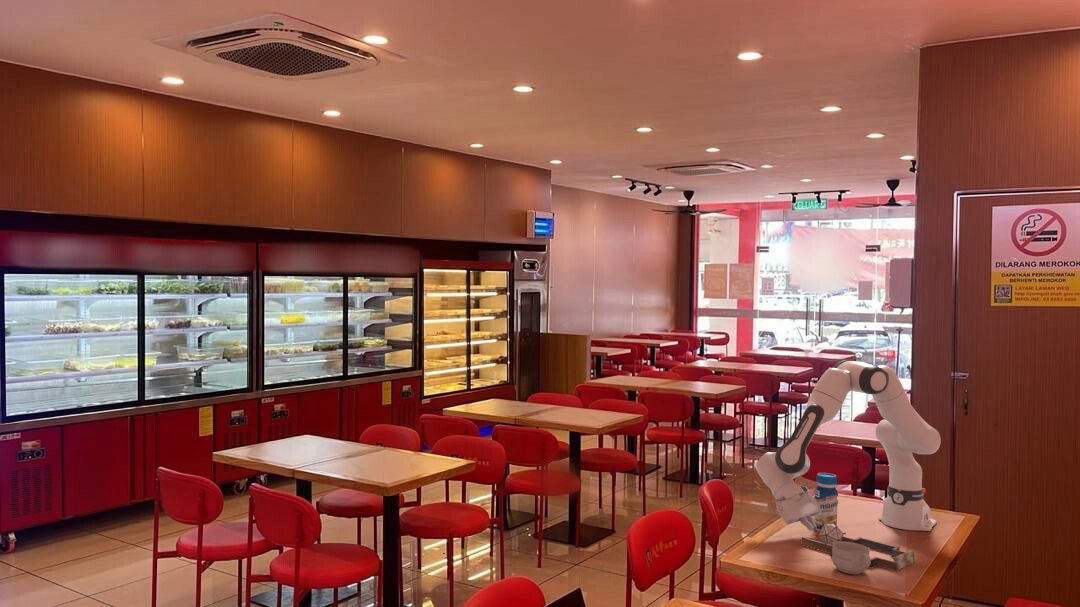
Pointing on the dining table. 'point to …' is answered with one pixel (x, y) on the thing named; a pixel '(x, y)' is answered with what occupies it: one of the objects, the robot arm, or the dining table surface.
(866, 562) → the teacup
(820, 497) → the beverage bottle
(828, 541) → the game die
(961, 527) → the dining table surface
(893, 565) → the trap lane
